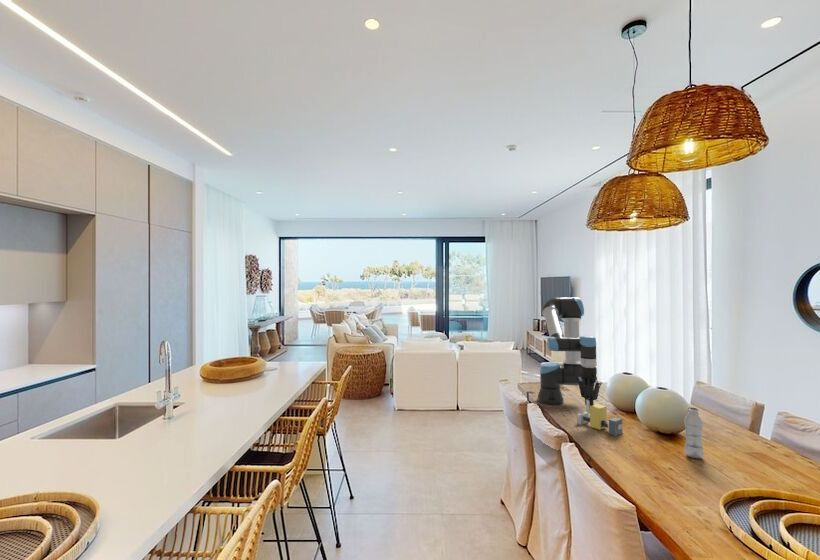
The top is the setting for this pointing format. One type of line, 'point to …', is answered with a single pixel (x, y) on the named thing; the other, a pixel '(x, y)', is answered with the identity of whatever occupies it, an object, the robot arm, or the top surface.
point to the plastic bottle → (693, 434)
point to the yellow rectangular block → (597, 416)
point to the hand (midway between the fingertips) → (589, 412)
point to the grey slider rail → (603, 423)
